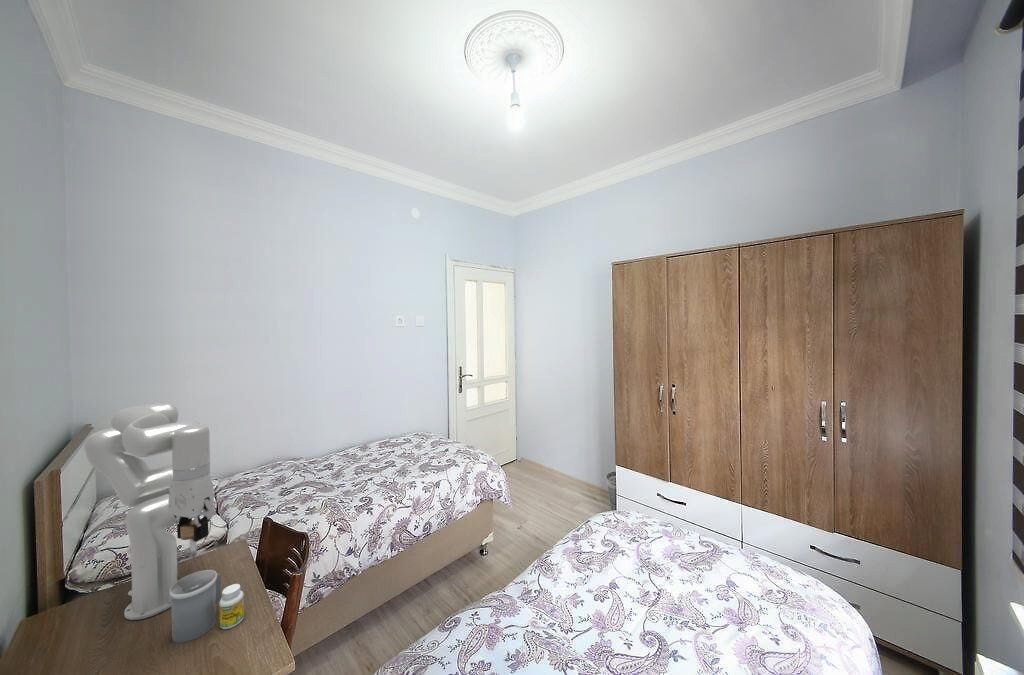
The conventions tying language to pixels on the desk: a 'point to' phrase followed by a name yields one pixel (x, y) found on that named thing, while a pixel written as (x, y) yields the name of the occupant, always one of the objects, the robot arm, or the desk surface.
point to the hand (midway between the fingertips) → (193, 536)
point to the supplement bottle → (231, 606)
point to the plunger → (189, 536)
